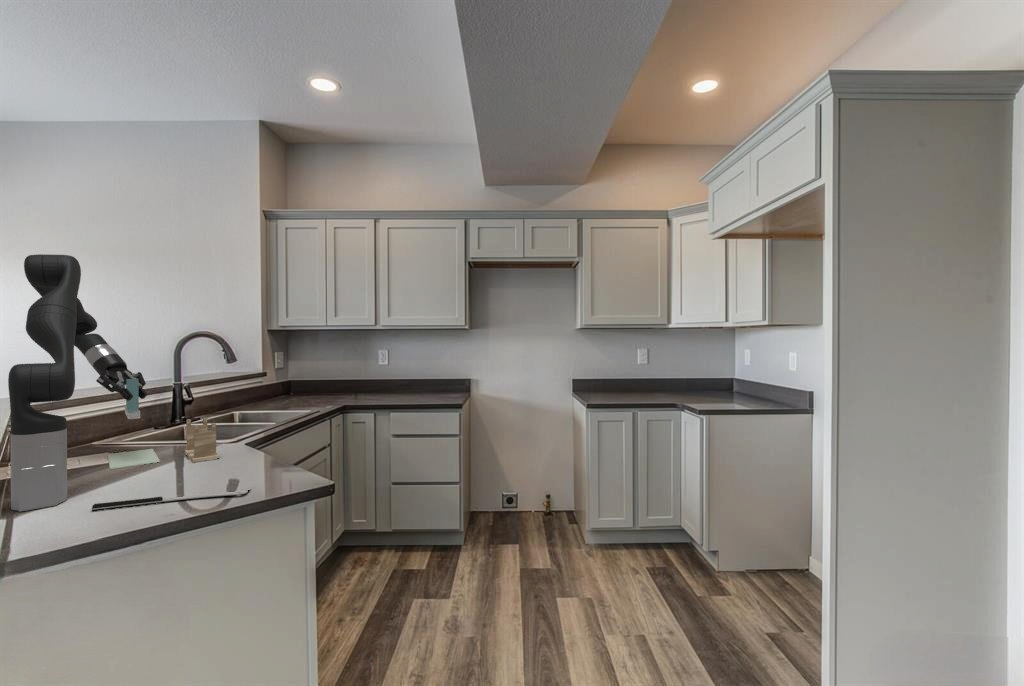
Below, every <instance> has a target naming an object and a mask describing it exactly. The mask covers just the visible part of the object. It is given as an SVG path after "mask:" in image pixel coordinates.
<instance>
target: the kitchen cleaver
mask: <svg viewBox="0 0 1024 686" xmlns="http://www.w3.org/2000/svg"><path fill="white" fill-rule="evenodd" d="M247 493H249V492H248V491H235V492H225V493H215V494H202V495H193V496H183V497H170V498H166V497H163V496H155V497H146V498H138V499H136V498H135V499H129V500H119V501H112V502H111V501H110V502H100V503H99V502H98V503H94V504H92V506H91V511H92V512H98V511H97V510H102V511H105V510H104V509H110V510H116V509H115V508H119V509H124V508H123V507H128V508H133V506H136V507H141V506H140V505H145V506H149V505H148V504H154V505H157V504H156V503H161V504H163V503H162V502H173V501H181V500H190V499H191V500H192V499H200V498H213V497H224V496H226V497H227V496H239V495H240V496H241V495H245V494H247Z"/></svg>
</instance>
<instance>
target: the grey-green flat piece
mask: <svg viewBox="0 0 1024 686" xmlns="http://www.w3.org/2000/svg"><path fill="white" fill-rule="evenodd" d="M125 388H127V389H128V390H129V392H130V393H131V394H132V395H133V398H132V399H131V400H129V401H127V400H126V399H125V401H126V402H125V406H124V414H125V416H126V418H127V420H136V419H141V411H140V409H139V402H140V401H139V399H140V397H139V379H138V378H137V379H126V386H125Z"/></svg>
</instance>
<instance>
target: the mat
mask: <svg viewBox="0 0 1024 686" xmlns="http://www.w3.org/2000/svg"><path fill="white" fill-rule="evenodd" d="M107 460H108V465H109V466H108V467H109V470H111V471H112V470H118V469H124V468H130V467H131V468H132V467H138V466H145V465H144V464H146V465H151V464H150V463H153V464H158V463H157V462H159V463H161V459H159V457H158V455H157V453H156V452H155V450H154V449H153V448H149V449H148V448H147V449H139V450H132V451H131V450H130V451H125V452H116V453H109V454H107Z"/></svg>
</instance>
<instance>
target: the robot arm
mask: <svg viewBox="0 0 1024 686" xmlns="http://www.w3.org/2000/svg"><path fill="white" fill-rule="evenodd" d="M23 269H24V274H25V277H26V279H27V281H28V283H29V284H30V286H32V288H33V289H34V290H35V291H36V292H37V293H38V294H39V295H40V296H41V297H40V298H38V299H37V300H36V301H34V302H33V303H32V304H31V306H30V307H29V308H28V310H27V315H26V321H25V331H26V333H27V335H28V337H29V338H30V339H31V340H32V341H33V342H34V343H35V344H36V345H38V346H39V348H42V350H44V351H45V352H46V353H48V354H49V355H50V357H51V358H52V359H53V361H54V362H52V363H51V362H44V363H43V362H42V363H41V362H40V363H39V362H38V363H35V362H34V363H17V364H15V365H13V366H11V368H10V370H9V372H8V378H7V379H8V380H7V381H8V382H7V383H8V395H9V406H10V407H9V408H10V509H11V510H12V511H18V512H25V511H32V510H38V509H42V508H48V507H54V506H58V504H60V503H63V502H65V501H67V500H68V421H67V418H66V417H65V416H62V415H57V414H51V413H47V412H42V411H40V410H37V409H35V408H34V407H33V406H32V405H31V404H32V403H48V402H49V403H50V402H60V401H62V402H63V401H66V400H69V399H71V398H72V396H73V394H74V392H75V387H76V386H75V385H76V373H75V371H76V368H75V367H76V366H75V347H76V348H77V349H78V351H80V353H81V354H82V355H83V356H84V357H85V358H86V360H87V363H89V365H90V366H91V367H92V368H93V369H94V371H95V372H96V373H97V374H98V375H99V377H97V379H96V380H95V381H96V382H97V383H98V384H99V385H101V386H102V387H103V388H105V389H106V390H107V391H109V392H110V393H114V392H116V393H117V394H119V395H120V396H121V397H122V398H123V399H124V400H125V401H126V400H127V401H129V400H131V399H132V398H133V395H132V394H131V393H130V392H129V390H128V389H127V388H126V379H137V378H138V379H139V399H140V400H144V399H145V398H146V397H147V395H148V393H147V392H146V390H145V389H144V388H143V387H145V386H146V384H147V382H146V381H145V378H144V375H143V373H142V372H140V371H138V372H137V373H134V372H133V371H131V370H129V369H128V366H127V363H126V361H125V360H124V358H122V357H121V356H120V355H119V353H118V352H117V350H115V349H114V348H113V347H112V346H110V344H109V343H108V342H107V341H106V340H105V339H104V337H102V336H101V334H99V333H92V332H94V331H96V330H97V328H98V322H97V320H96V319H95V318H94V317H93V316H92V315H91V314H89V312H87V311H86V310H85V309H84V306H83V304H82V301H81V300H80V299H79V298H78V295H79V290H80V285H81V284H80V283H81V278H82V277H81V276H82V268H81V264H80V262H79V261H78V259H77V258H76V257H75V256H73V255H67V254H29V255H27V256H26V257H25V259H24V262H23Z"/></svg>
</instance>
